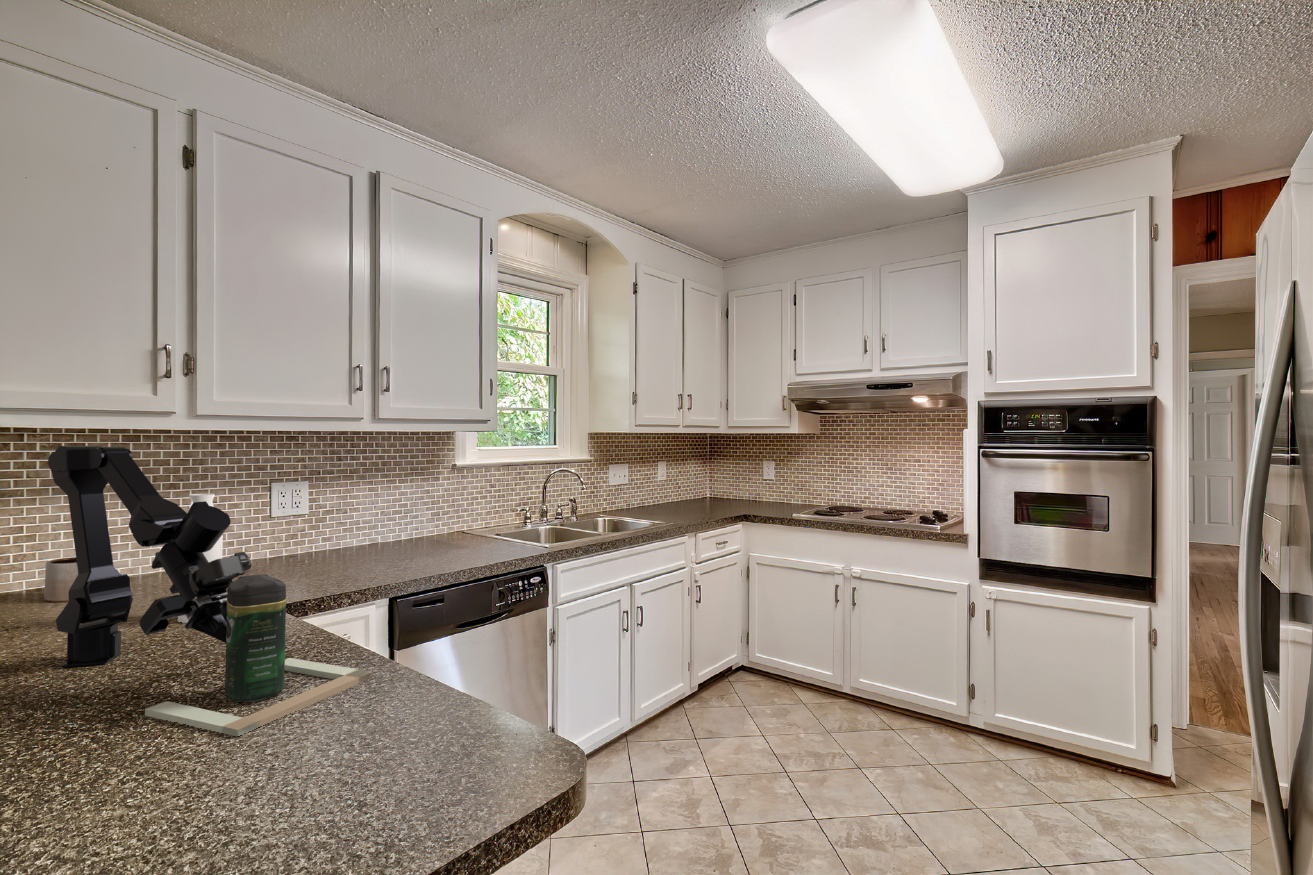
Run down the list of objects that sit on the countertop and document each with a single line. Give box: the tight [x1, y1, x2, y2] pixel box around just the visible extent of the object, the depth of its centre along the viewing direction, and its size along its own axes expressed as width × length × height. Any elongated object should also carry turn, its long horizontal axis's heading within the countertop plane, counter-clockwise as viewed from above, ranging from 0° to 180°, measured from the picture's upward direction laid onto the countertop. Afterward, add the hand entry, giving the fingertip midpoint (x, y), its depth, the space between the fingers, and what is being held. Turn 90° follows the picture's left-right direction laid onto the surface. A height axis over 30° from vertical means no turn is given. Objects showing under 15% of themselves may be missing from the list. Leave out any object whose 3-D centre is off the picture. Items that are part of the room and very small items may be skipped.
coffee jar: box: [224, 573, 287, 703], centre depth 103 cm, size 10×8×19 cm
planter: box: [43, 556, 78, 603], centre depth 163 cm, size 11×11×10 cm
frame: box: [144, 657, 373, 737], centre depth 102 cm, size 19×24×1 cm
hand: (235, 643), depth 104 cm, fingers closed, pressing on coffee jar
